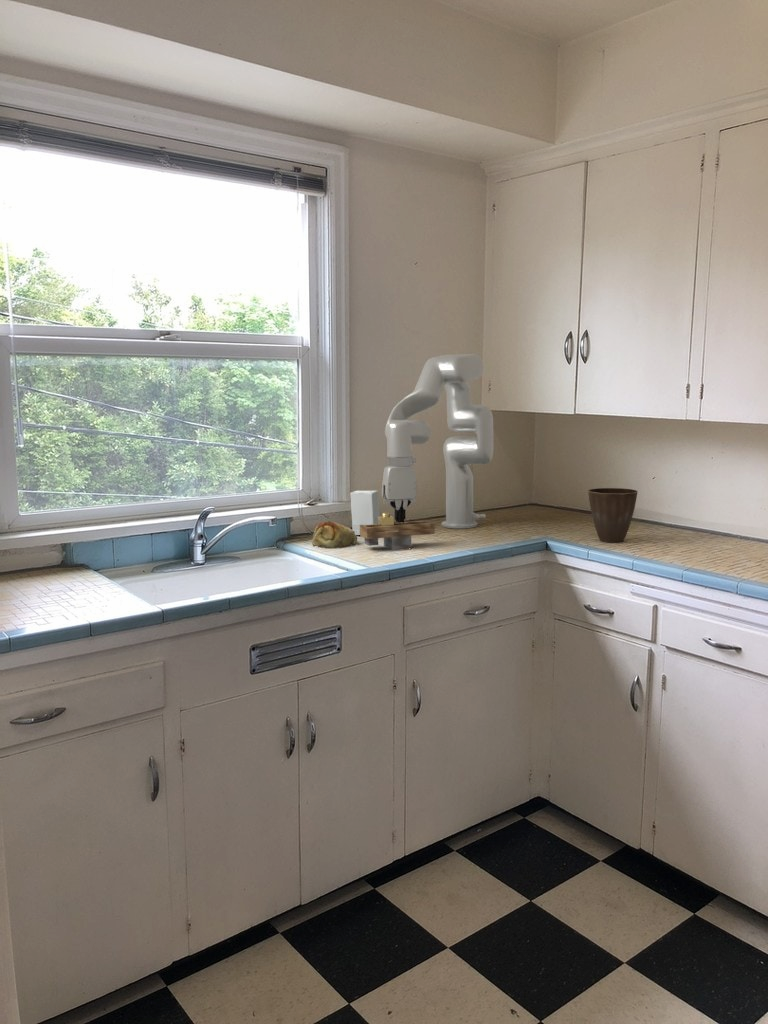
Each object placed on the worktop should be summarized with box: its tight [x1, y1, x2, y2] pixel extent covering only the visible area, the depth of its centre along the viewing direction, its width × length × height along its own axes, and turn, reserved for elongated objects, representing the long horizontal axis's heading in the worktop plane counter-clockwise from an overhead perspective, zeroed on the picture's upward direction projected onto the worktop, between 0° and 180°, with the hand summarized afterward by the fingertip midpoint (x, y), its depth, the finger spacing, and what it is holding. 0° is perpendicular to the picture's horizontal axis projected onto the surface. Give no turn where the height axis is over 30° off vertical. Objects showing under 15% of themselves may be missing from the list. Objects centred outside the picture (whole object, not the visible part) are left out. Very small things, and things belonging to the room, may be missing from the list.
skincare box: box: [349, 489, 381, 535], centre depth 271 cm, size 8×6×15 cm
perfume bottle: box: [378, 512, 395, 527], centre depth 248 cm, size 4×3×5 cm
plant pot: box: [587, 487, 639, 544], centre depth 256 cm, size 15×15×16 cm
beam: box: [359, 519, 436, 551], centre depth 250 cm, size 22×8×7 cm, turn 110°
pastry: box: [311, 520, 358, 549], centre depth 255 cm, size 14×12×8 cm
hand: (400, 521), depth 249 cm, fingers closed
